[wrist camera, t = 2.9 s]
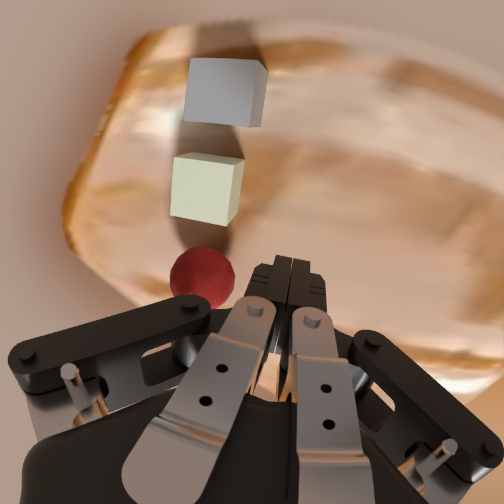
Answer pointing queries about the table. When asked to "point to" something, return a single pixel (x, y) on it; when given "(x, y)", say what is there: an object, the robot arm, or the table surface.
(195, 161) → the sage block
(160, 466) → the robot arm
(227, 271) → the onion
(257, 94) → the slate block
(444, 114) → the table surface
